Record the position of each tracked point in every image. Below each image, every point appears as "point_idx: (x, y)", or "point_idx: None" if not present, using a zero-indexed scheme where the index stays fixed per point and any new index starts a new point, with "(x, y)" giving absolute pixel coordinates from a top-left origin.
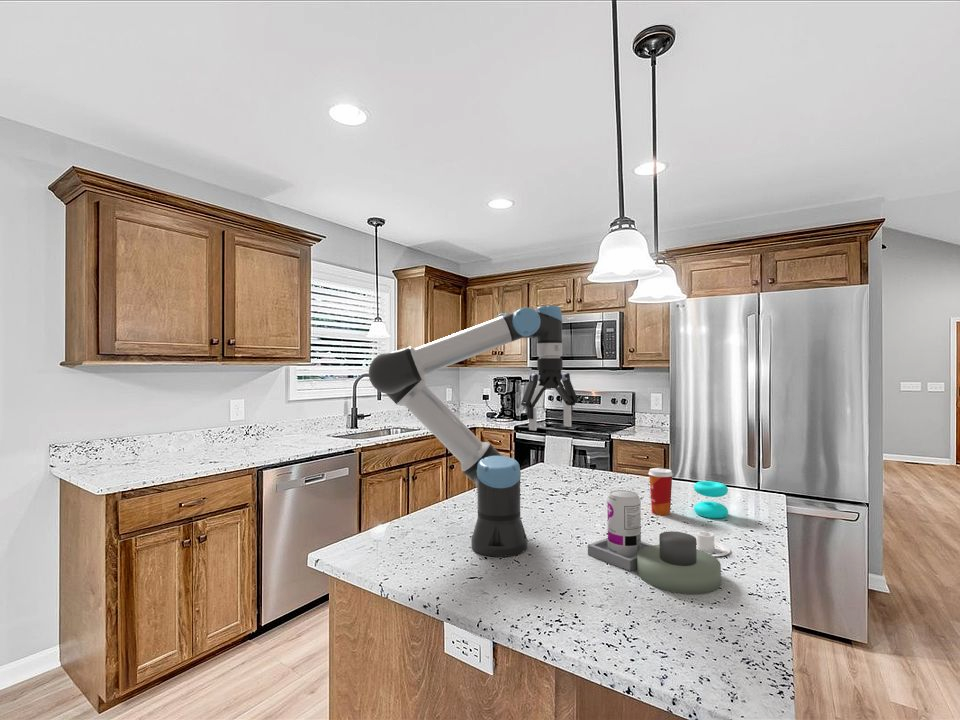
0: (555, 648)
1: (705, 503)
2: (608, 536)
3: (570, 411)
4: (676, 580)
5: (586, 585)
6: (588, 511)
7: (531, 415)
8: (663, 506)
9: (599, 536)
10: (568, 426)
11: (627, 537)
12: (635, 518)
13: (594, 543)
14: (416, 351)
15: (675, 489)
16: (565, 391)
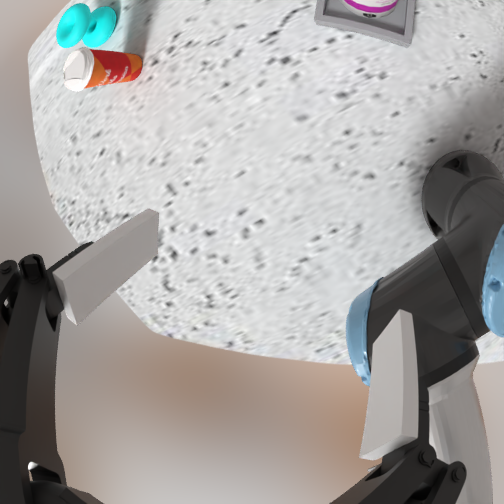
0: None
1: (91, 32)
2: (392, 5)
3: (88, 252)
4: None
5: (494, 27)
6: (199, 155)
7: (420, 400)
8: (129, 55)
9: (311, 65)
10: (157, 221)
11: None
12: None
13: (396, 36)
14: None
15: (53, 129)
16: (4, 379)
